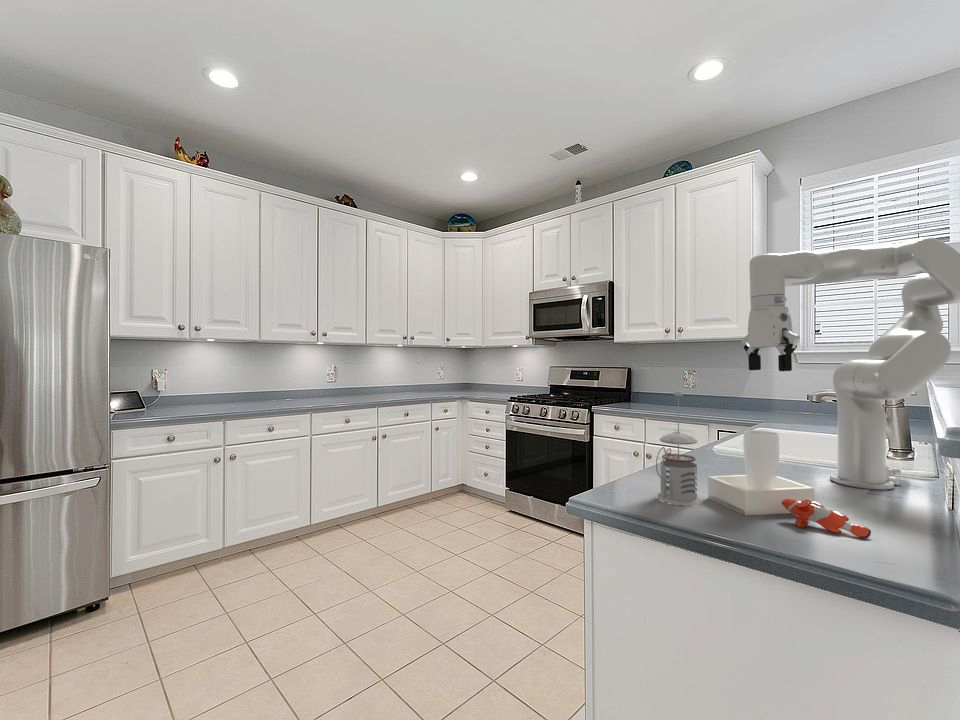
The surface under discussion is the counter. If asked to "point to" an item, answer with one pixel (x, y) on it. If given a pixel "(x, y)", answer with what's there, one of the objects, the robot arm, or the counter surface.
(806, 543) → the counter surface
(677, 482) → the french press
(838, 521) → the fish
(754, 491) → the bin
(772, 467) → the drinking glass
